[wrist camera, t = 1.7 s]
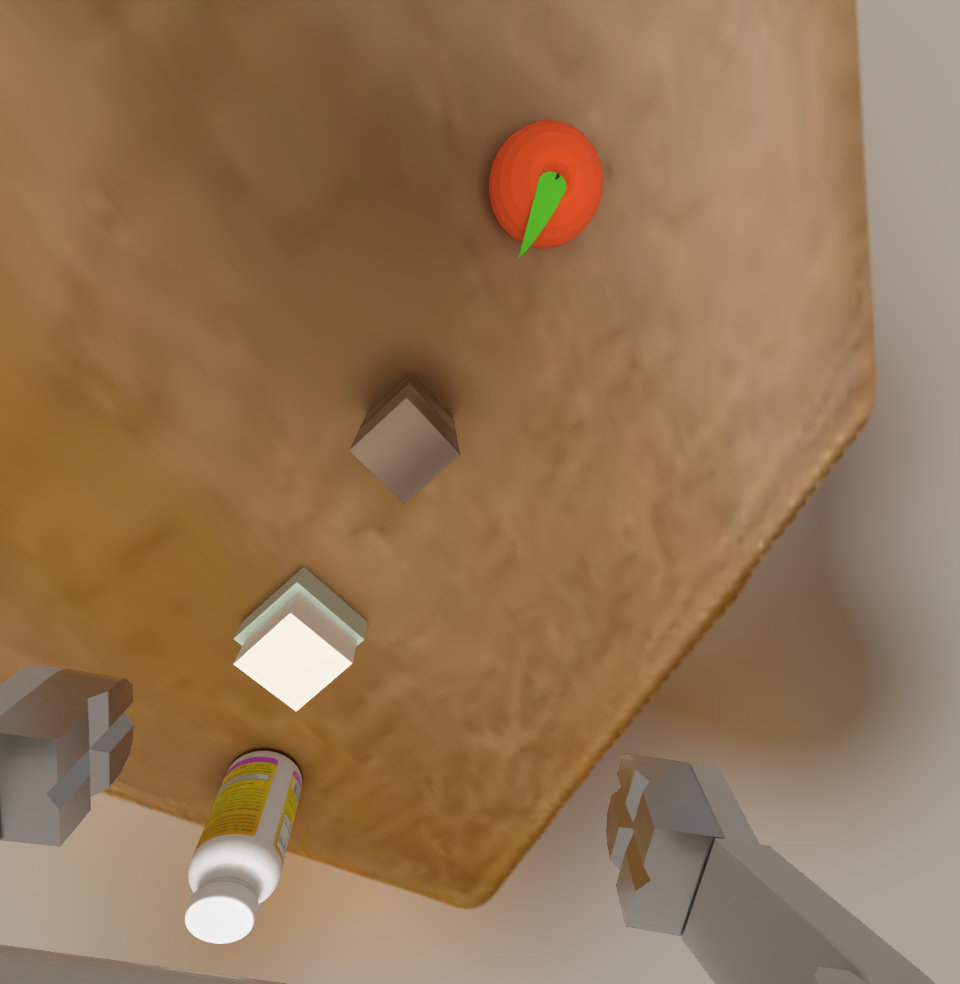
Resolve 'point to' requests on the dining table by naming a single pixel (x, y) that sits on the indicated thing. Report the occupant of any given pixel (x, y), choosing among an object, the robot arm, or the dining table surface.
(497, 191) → the clementine
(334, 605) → the tower base
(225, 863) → the supplement bottle
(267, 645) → the tower cap
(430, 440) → the walnut post
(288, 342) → the dining table surface
